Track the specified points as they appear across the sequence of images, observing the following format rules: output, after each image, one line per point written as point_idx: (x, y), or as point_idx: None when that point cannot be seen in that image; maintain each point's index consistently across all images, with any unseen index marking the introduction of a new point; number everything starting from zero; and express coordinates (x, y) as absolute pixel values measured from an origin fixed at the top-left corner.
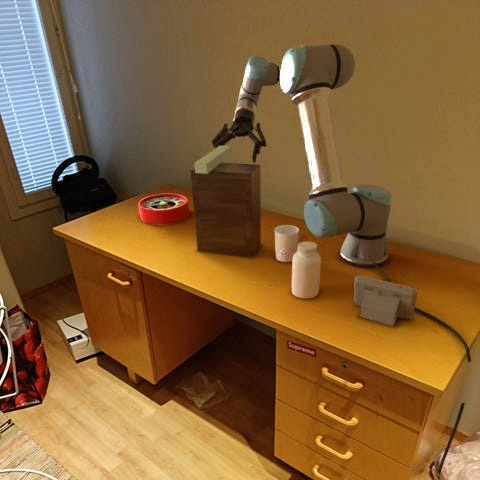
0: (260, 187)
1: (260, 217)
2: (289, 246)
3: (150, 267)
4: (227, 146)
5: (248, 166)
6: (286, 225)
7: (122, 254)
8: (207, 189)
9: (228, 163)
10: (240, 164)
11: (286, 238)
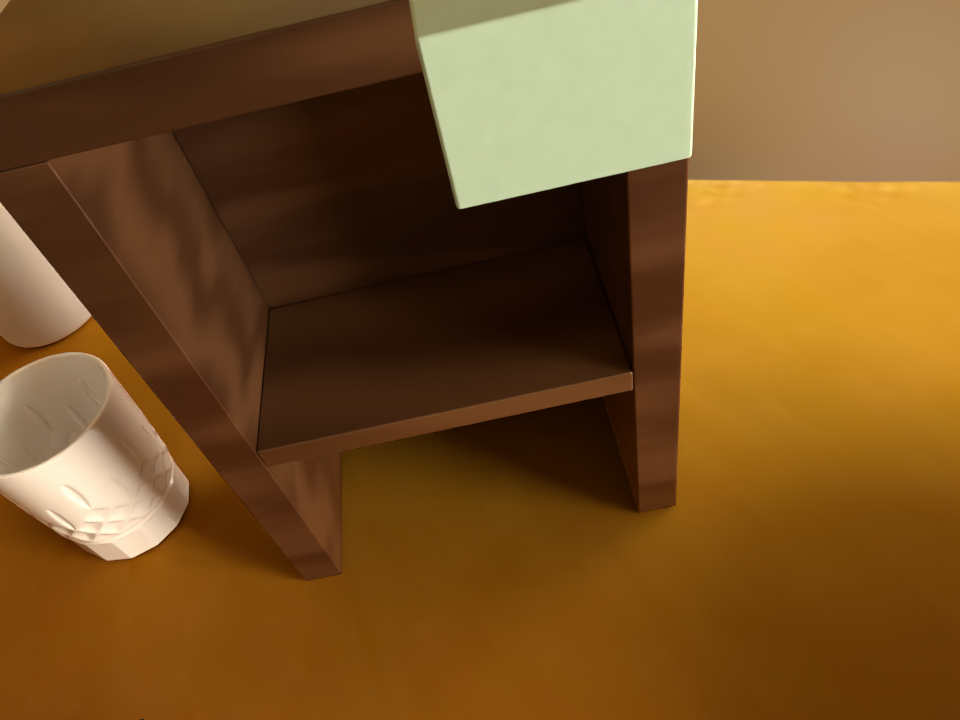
0: (87, 308)
1: (221, 472)
2: (65, 416)
3: (711, 185)
4: (478, 2)
5: (69, 39)
6: (34, 466)
7: (947, 191)
8: None
9: (323, 3)
10: (170, 37)
11: (53, 375)
